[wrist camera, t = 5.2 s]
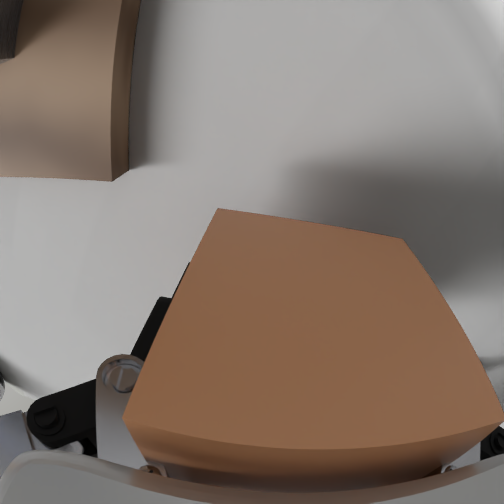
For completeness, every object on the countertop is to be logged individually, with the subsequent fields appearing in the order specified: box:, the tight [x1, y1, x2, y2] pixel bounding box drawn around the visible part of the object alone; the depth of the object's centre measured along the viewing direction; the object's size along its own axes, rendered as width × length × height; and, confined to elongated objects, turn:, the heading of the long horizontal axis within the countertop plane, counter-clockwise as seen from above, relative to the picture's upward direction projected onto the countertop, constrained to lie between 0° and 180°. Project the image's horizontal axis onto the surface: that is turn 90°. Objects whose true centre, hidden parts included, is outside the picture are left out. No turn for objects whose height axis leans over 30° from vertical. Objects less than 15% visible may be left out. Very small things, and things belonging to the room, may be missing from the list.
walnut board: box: [0, 0, 141, 182], centre depth 7 cm, size 16×16×2 cm
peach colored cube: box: [122, 208, 504, 493], centre depth 7 cm, size 6×6×7 cm
